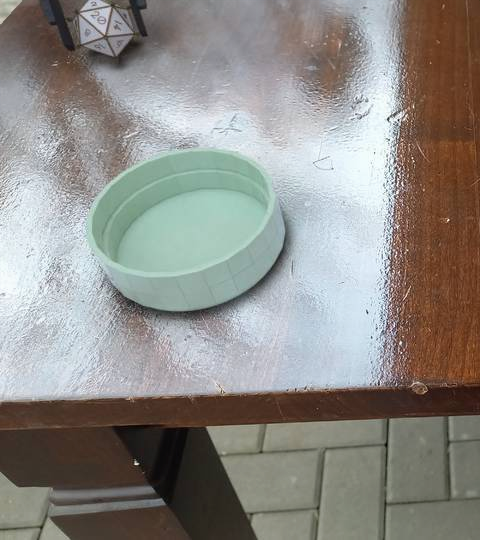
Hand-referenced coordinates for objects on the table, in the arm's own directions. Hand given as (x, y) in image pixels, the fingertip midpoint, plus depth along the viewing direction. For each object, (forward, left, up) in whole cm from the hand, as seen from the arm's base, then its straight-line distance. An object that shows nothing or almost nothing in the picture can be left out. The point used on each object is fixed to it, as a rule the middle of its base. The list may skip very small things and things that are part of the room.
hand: (107, 40), depth 92 cm
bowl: (+18, -34, -4) cm, 39 cm away
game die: (-1, +3, -4) cm, 5 cm away
